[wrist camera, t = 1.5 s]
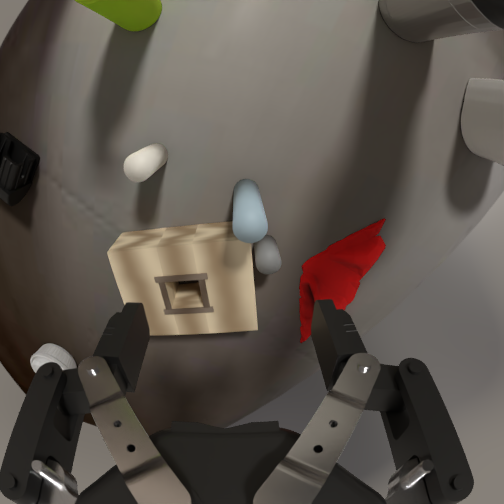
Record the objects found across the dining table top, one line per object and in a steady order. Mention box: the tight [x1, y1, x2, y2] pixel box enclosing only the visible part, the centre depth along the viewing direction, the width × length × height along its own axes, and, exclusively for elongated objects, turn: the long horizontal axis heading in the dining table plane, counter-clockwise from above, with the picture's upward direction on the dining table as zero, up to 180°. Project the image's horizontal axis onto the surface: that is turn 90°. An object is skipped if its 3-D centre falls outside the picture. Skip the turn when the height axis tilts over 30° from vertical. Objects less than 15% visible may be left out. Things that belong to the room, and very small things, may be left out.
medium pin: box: [124, 143, 168, 182], centre depth 31 cm, size 3×3×8 cm
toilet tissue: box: [461, 78, 504, 166], centre depth 28 cm, size 11×12×10 cm
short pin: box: [254, 235, 281, 274], centre depth 39 cm, size 3×3×5 cm
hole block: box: [107, 221, 258, 335], centre depth 40 cm, size 18×14×6 cm
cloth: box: [299, 219, 386, 343], centre depth 45 cm, size 26×14×2 cm, turn 143°
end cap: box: [0, 132, 40, 206], centre depth 30 cm, size 10×7×7 cm
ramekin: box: [30, 343, 77, 373], centre depth 49 cm, size 11×11×5 cm
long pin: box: [233, 179, 268, 243], centre depth 32 cm, size 3×3×12 cm
